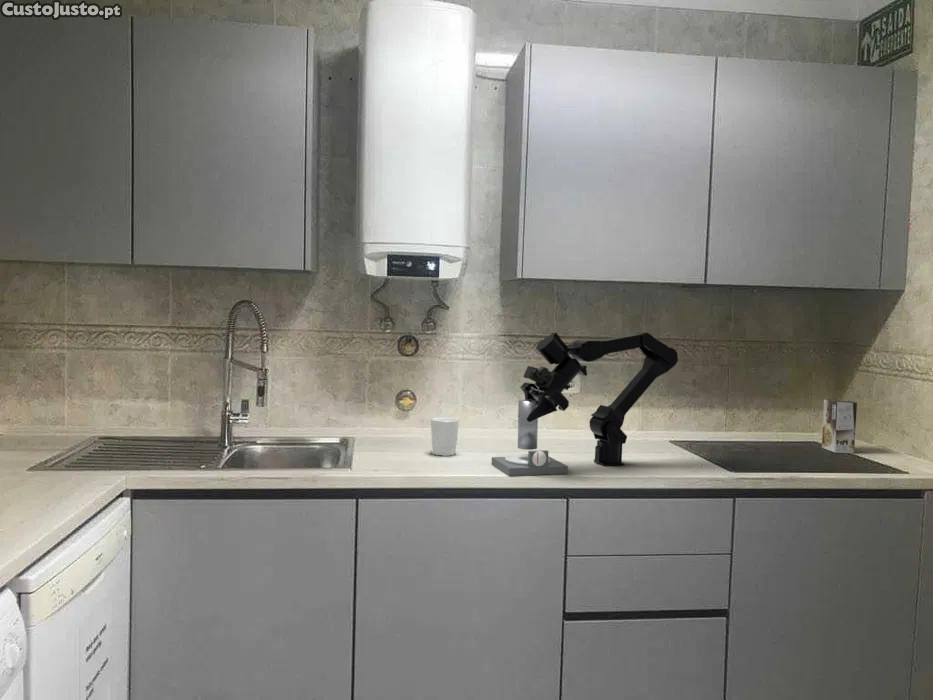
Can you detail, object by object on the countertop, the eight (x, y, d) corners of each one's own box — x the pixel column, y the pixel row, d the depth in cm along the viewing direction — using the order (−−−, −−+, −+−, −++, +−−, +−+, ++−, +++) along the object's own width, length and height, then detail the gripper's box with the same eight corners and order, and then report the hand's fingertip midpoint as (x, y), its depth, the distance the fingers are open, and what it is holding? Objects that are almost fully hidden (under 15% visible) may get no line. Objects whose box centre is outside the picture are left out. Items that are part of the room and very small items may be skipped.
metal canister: (528, 445, 197) (528, 398, 196) (541, 448, 193) (542, 401, 192) (513, 447, 194) (514, 400, 193) (526, 450, 190) (527, 402, 189)
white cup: (433, 457, 204) (434, 421, 204) (427, 451, 212) (428, 417, 212) (460, 456, 207) (461, 421, 206) (453, 450, 214) (454, 417, 214)
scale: (546, 462, 201) (547, 440, 201) (567, 473, 188) (568, 450, 187) (491, 464, 197) (492, 442, 196) (509, 476, 183) (510, 452, 183)
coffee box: (855, 453, 228) (858, 402, 227) (834, 453, 228) (837, 401, 227) (840, 448, 237) (843, 398, 236) (820, 447, 237) (823, 398, 236)
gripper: (527, 353, 202) (490, 394, 199) (558, 358, 185) (518, 403, 181) (552, 380, 205) (516, 421, 202) (585, 388, 188) (546, 432, 185)
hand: (523, 419), depth 192 cm, fingers closed on metal canister, 5 cm apart
